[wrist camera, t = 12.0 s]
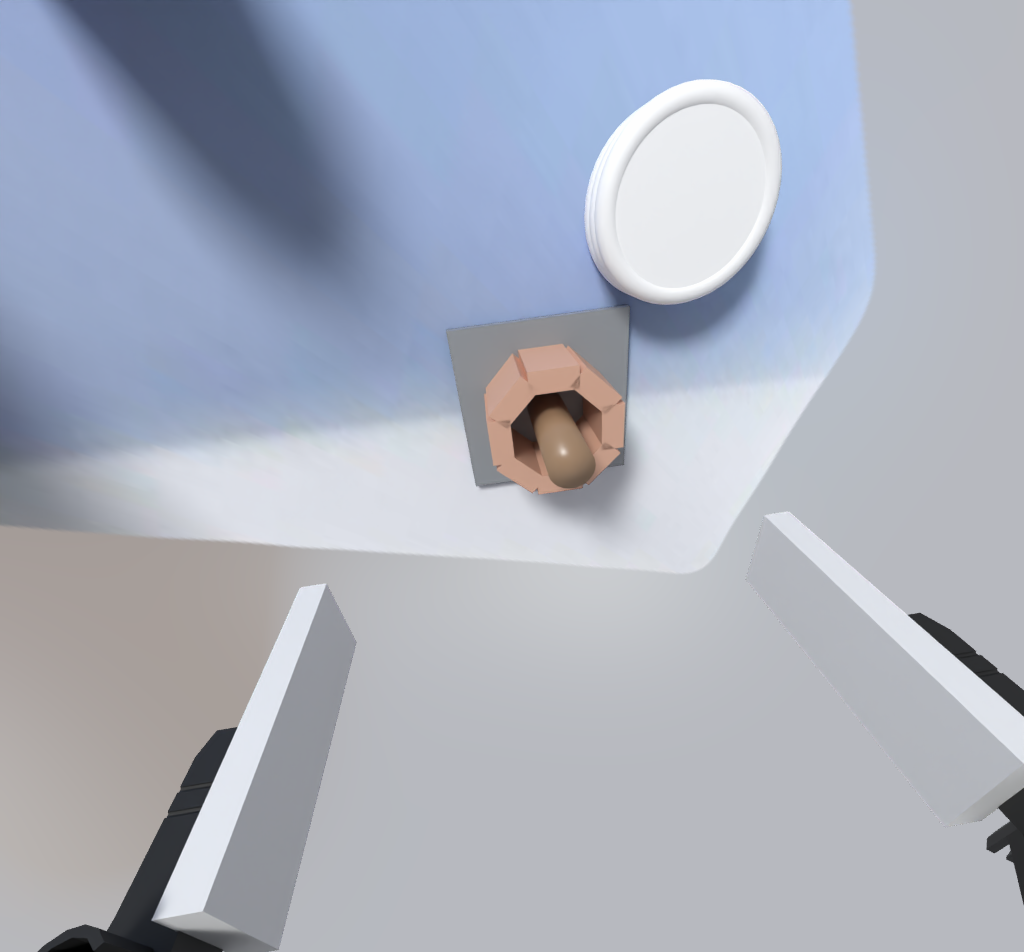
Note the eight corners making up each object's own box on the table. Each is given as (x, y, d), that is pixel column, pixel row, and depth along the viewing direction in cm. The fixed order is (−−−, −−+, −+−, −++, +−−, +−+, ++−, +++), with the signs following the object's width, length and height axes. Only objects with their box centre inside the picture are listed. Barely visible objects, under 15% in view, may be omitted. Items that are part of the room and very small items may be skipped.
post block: (475, 482, 33) (478, 565, 25) (446, 329, 26) (436, 374, 18) (621, 461, 33) (671, 537, 25) (626, 304, 27) (696, 338, 19)
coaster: (773, 103, 22) (820, 83, 19) (718, 299, 27) (748, 308, 24) (594, 89, 21) (614, 66, 18) (572, 295, 26) (585, 304, 23)
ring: (494, 463, 31) (498, 500, 27) (477, 355, 27) (479, 379, 23) (601, 448, 31) (621, 482, 27) (602, 338, 27) (626, 358, 23)
